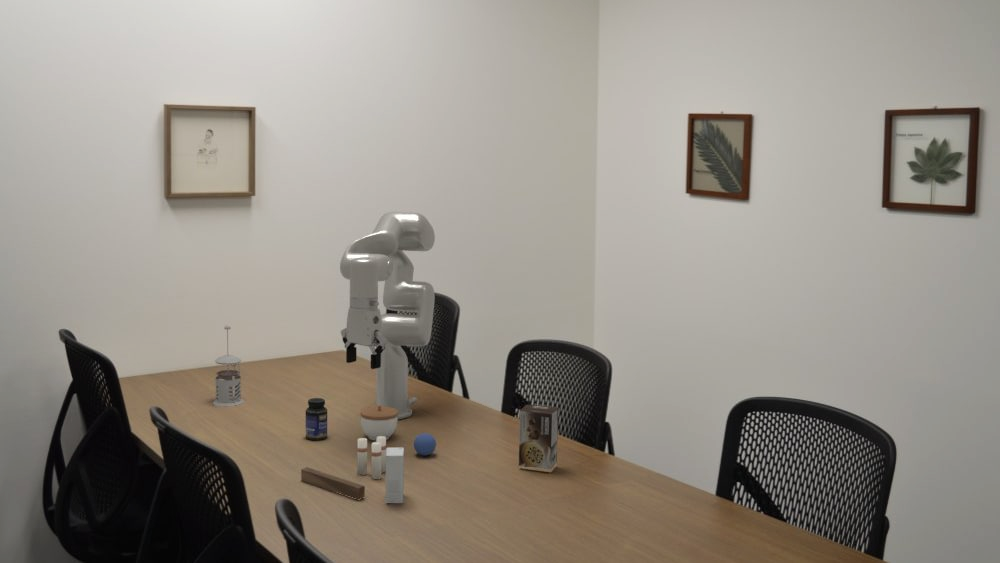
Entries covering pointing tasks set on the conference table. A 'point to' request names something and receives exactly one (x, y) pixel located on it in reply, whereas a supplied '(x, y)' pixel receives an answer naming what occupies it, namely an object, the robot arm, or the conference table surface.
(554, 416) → the coffee box
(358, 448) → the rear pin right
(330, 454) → the conference table surface
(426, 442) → the ball
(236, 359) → the french press
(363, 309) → the robot arm
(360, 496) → the bar
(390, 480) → the skincare box
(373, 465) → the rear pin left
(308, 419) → the pill bottle
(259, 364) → the conference table surface
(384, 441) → the front pin
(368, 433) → the lidded jar
